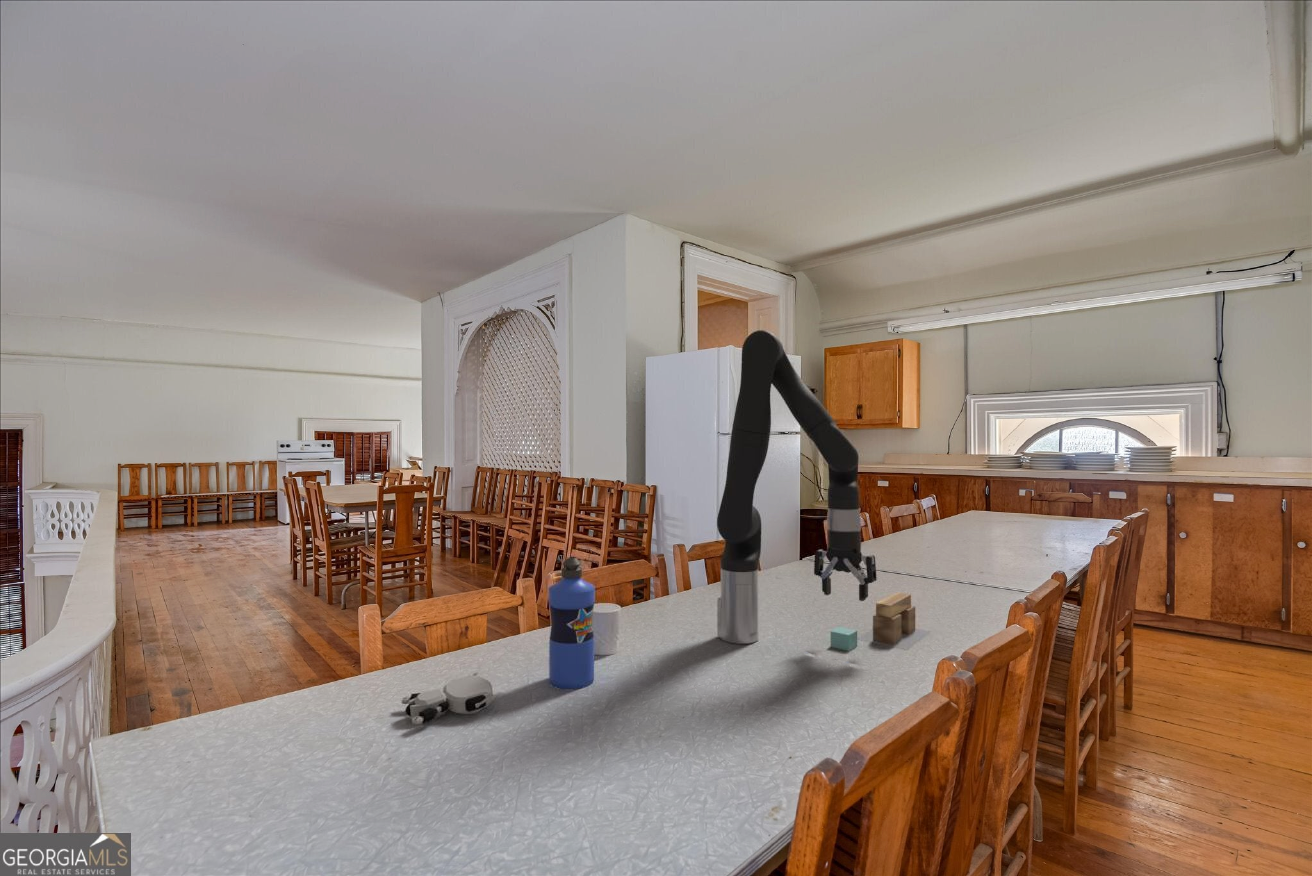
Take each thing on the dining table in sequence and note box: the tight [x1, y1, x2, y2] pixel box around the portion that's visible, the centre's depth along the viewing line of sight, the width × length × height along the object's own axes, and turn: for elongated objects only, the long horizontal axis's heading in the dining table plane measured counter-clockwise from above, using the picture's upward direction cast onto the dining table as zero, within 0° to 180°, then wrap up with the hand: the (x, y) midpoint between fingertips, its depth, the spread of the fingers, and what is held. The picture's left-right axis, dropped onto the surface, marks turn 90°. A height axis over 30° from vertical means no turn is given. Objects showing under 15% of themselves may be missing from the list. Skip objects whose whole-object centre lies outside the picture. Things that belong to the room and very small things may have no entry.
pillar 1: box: [872, 613, 901, 645], centre depth 150 cm, size 5×5×6 cm
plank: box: [875, 592, 912, 618], centre depth 154 cm, size 4×14×3 cm, turn 139°
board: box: [857, 627, 932, 651], centre depth 154 cm, size 12×18×1 cm, turn 139°
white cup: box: [592, 602, 622, 656], centre depth 145 cm, size 8×8×10 cm
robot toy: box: [401, 672, 499, 725], centre depth 112 cm, size 12×4×15 cm
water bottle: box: [548, 556, 596, 690], centre depth 127 cm, size 9×9×25 cm
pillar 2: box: [899, 605, 916, 635], centre depth 157 cm, size 5×5×6 cm
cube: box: [830, 626, 858, 652], centre depth 145 cm, size 4×4×4 cm
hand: (844, 597), depth 145 cm, fingers open, 8 cm apart
